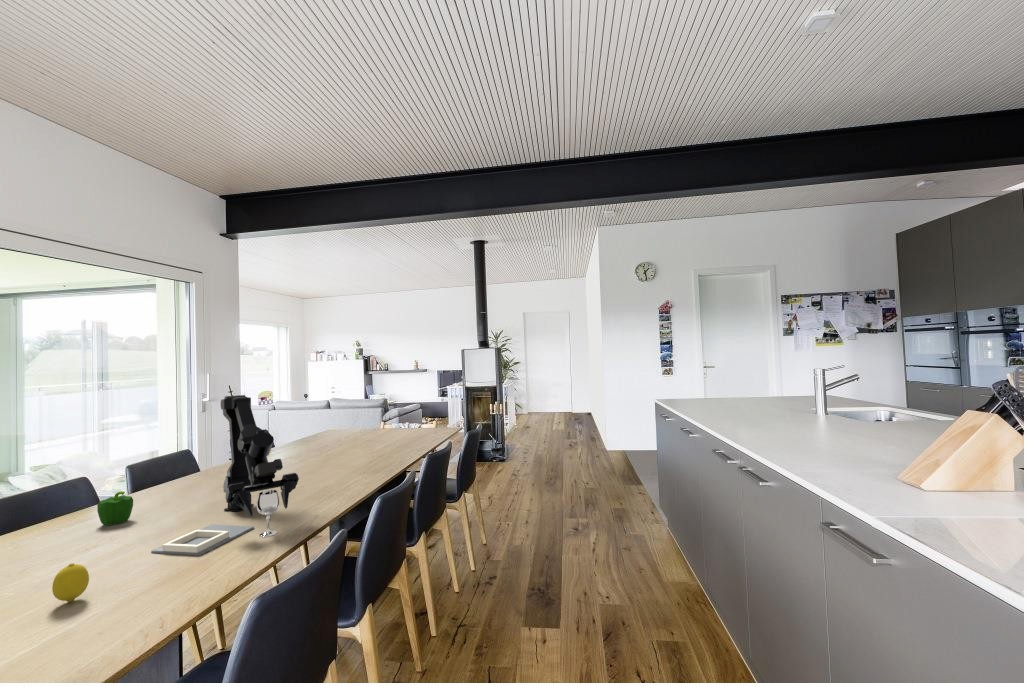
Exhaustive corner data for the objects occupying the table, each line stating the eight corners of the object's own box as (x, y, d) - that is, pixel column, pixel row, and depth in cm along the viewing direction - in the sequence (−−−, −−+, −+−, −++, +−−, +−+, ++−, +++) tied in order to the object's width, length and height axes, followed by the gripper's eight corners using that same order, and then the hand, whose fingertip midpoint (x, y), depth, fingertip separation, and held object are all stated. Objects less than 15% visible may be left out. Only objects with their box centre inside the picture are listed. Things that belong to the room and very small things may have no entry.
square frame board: (151, 552, 119) (151, 544, 119) (210, 526, 138) (210, 519, 138) (200, 555, 117) (200, 547, 117) (254, 528, 135) (254, 521, 135)
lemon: (68, 596, 97) (68, 558, 98) (95, 594, 98) (96, 557, 98) (44, 610, 92) (44, 570, 92) (73, 608, 92) (73, 568, 93)
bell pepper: (91, 526, 141) (91, 494, 141) (122, 517, 148) (122, 486, 149) (107, 529, 138) (107, 496, 138) (138, 520, 145) (138, 489, 146)
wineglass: (283, 531, 132) (283, 490, 133) (265, 539, 127) (265, 496, 127) (270, 529, 134) (270, 488, 135) (252, 536, 129) (252, 494, 130)
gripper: (227, 456, 128) (237, 503, 120) (296, 446, 141) (309, 488, 133) (221, 479, 133) (230, 526, 125) (288, 468, 146) (300, 509, 138)
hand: (269, 511), depth 130 cm, fingers open, 9 cm apart
